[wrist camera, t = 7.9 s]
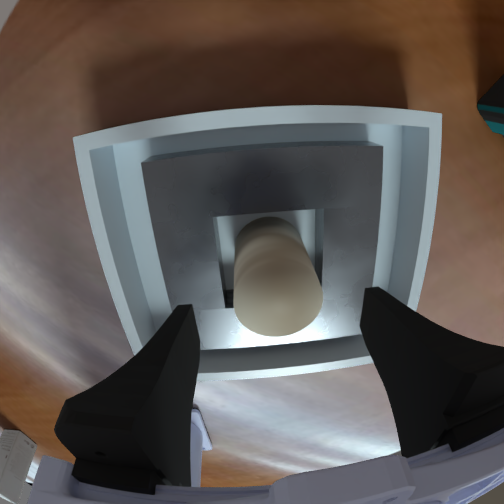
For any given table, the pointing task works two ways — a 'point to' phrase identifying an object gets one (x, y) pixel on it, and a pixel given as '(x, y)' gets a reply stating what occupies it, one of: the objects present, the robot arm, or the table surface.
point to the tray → (258, 216)
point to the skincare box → (14, 463)
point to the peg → (274, 279)
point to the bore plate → (263, 201)
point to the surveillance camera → (493, 107)
